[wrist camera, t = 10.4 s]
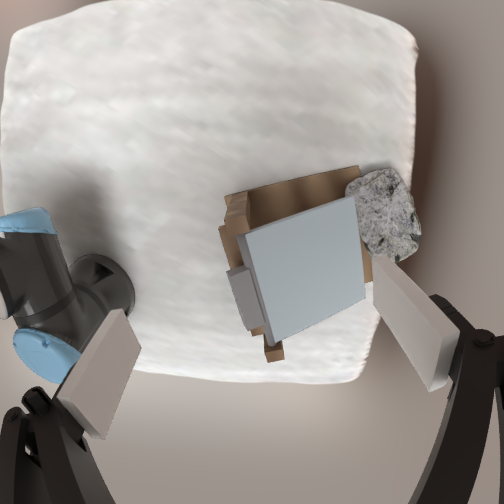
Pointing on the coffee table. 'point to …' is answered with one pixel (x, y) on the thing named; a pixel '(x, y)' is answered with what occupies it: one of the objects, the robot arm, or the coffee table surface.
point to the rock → (385, 214)
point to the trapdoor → (299, 270)
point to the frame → (278, 207)
